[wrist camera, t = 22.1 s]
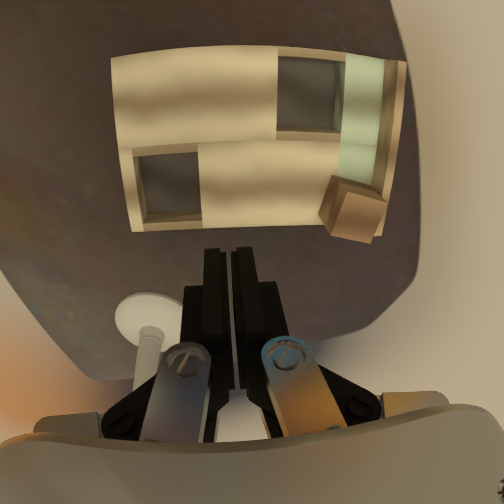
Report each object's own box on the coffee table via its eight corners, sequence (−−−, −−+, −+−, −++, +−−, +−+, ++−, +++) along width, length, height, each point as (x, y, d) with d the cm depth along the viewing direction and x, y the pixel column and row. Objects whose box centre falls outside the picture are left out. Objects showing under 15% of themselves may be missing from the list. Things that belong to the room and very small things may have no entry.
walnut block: (331, 174, 33) (347, 191, 29) (369, 185, 34) (387, 203, 30) (317, 213, 36) (330, 235, 32) (354, 222, 37) (370, 243, 33)
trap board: (119, 58, 27) (100, 57, 22) (380, 60, 29) (406, 62, 24) (137, 220, 38) (125, 245, 33) (362, 213, 40) (381, 235, 35)
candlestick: (206, 339, 50) (208, 521, 25) (140, 353, 51) (119, 516, 26) (172, 282, 43) (146, 502, 18) (101, 303, 45) (48, 488, 19)
